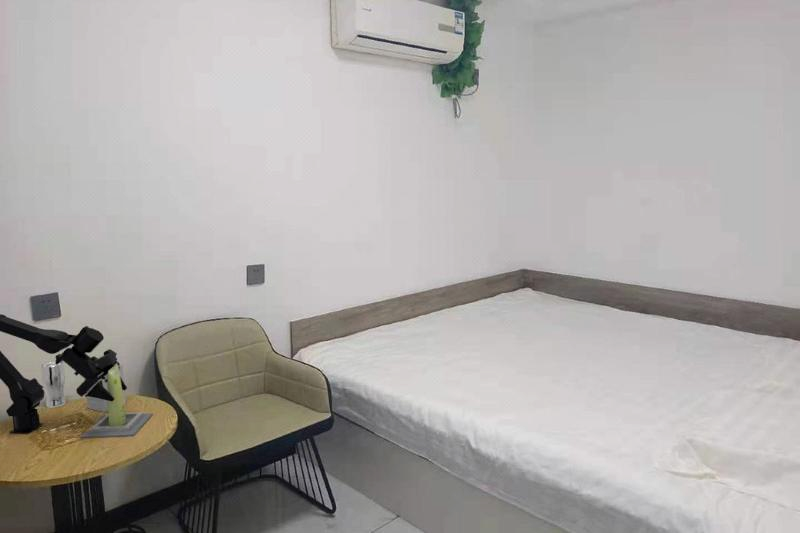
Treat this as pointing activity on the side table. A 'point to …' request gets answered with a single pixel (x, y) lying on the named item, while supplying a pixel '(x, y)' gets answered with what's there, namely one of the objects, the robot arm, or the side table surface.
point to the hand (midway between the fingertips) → (120, 394)
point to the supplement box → (100, 403)
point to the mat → (119, 434)
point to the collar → (103, 429)
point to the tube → (117, 406)
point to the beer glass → (54, 383)
